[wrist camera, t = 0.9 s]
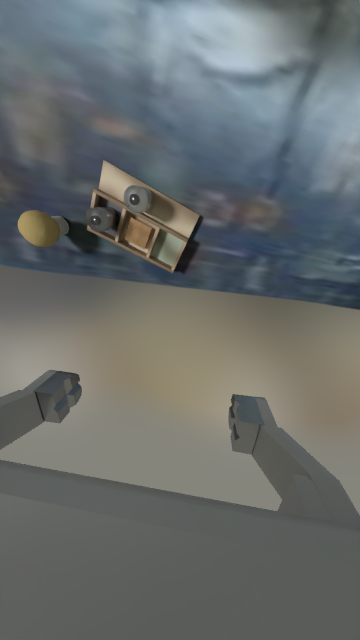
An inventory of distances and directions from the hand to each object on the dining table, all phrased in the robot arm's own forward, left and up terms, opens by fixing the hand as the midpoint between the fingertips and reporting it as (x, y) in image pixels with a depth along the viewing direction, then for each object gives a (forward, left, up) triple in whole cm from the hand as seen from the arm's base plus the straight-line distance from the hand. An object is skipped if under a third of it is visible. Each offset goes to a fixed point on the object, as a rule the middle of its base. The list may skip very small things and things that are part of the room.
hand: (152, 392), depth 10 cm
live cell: (-3, -12, -37) cm, 39 cm away
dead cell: (+3, -18, -36) cm, 41 cm away
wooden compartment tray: (+1, -11, -38) cm, 39 cm away
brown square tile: (+3, -11, -36) cm, 38 cm away
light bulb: (+10, -28, -38) cm, 48 cm away
